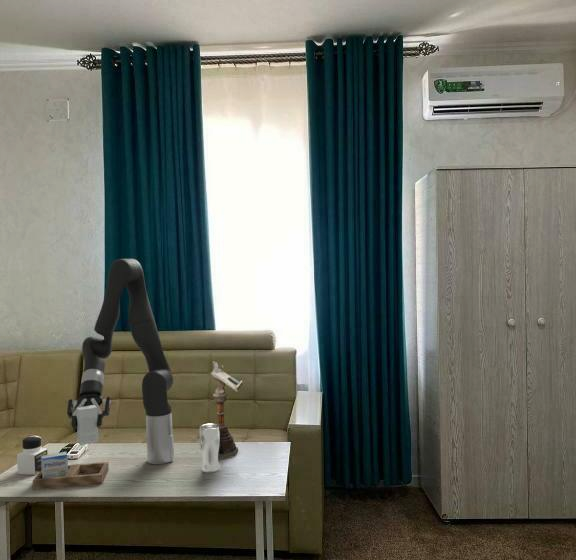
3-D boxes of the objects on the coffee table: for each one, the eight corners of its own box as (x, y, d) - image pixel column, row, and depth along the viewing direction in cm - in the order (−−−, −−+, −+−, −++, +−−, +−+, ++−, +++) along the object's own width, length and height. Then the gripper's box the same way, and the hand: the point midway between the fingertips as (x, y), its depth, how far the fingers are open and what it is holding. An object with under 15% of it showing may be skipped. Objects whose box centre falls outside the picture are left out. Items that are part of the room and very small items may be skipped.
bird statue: (254, 447, 212) (250, 356, 211) (247, 459, 199) (243, 362, 198) (212, 446, 214) (208, 357, 213) (202, 458, 201) (199, 363, 200)
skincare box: (95, 439, 188) (94, 404, 188) (98, 442, 185) (97, 406, 185) (77, 442, 185) (75, 407, 185) (79, 445, 182) (78, 410, 181)
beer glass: (224, 467, 191) (223, 424, 191) (213, 474, 185) (212, 430, 184) (207, 464, 194) (206, 422, 194) (196, 471, 188) (194, 428, 187)
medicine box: (42, 485, 180) (41, 458, 180) (42, 480, 184) (40, 455, 183) (68, 480, 183) (67, 454, 183) (67, 475, 187) (66, 450, 187)
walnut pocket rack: (108, 470, 192) (108, 461, 192) (102, 483, 180) (101, 474, 180) (44, 475, 189) (43, 467, 189) (33, 489, 177) (32, 480, 177)
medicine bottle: (35, 475, 190) (34, 440, 189) (17, 474, 191) (15, 440, 191) (48, 467, 197) (47, 434, 196) (30, 467, 198) (29, 434, 198)
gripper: (68, 380, 191) (61, 423, 180) (111, 377, 193) (107, 419, 182) (73, 392, 196) (66, 434, 185) (114, 389, 198) (110, 431, 187)
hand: (86, 427), depth 183 cm, fingers closed on skincare box, 7 cm apart
